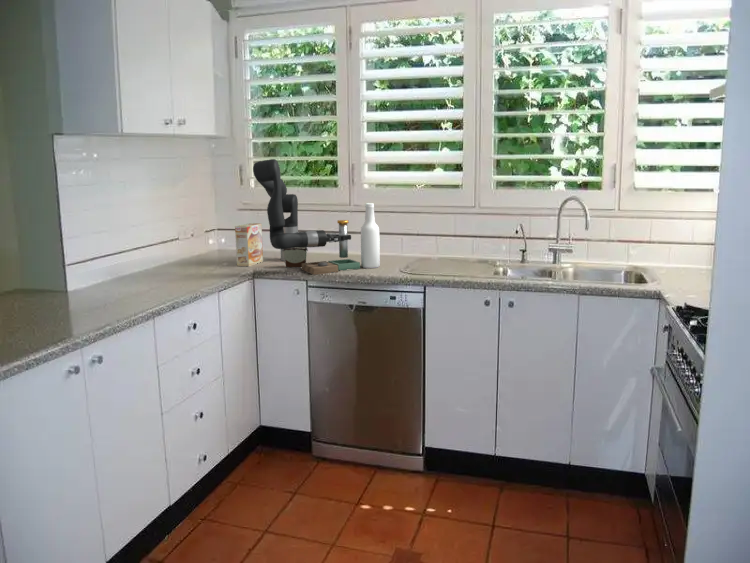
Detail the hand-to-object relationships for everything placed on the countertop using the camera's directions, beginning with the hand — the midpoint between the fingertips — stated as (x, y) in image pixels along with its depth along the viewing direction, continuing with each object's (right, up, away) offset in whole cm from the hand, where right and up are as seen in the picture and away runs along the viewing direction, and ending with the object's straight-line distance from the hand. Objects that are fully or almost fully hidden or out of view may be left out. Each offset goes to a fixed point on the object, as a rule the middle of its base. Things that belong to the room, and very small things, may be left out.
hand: (348, 236), depth 315 cm
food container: (-25, -14, +7) cm, 30 cm away
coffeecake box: (-49, -13, +17) cm, 54 cm away
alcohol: (+10, -14, +4) cm, 18 cm away
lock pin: (-2, -10, 0) cm, 10 cm away
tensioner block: (-13, -16, -5) cm, 21 cm away
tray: (-2, -15, +2) cm, 15 cm away
